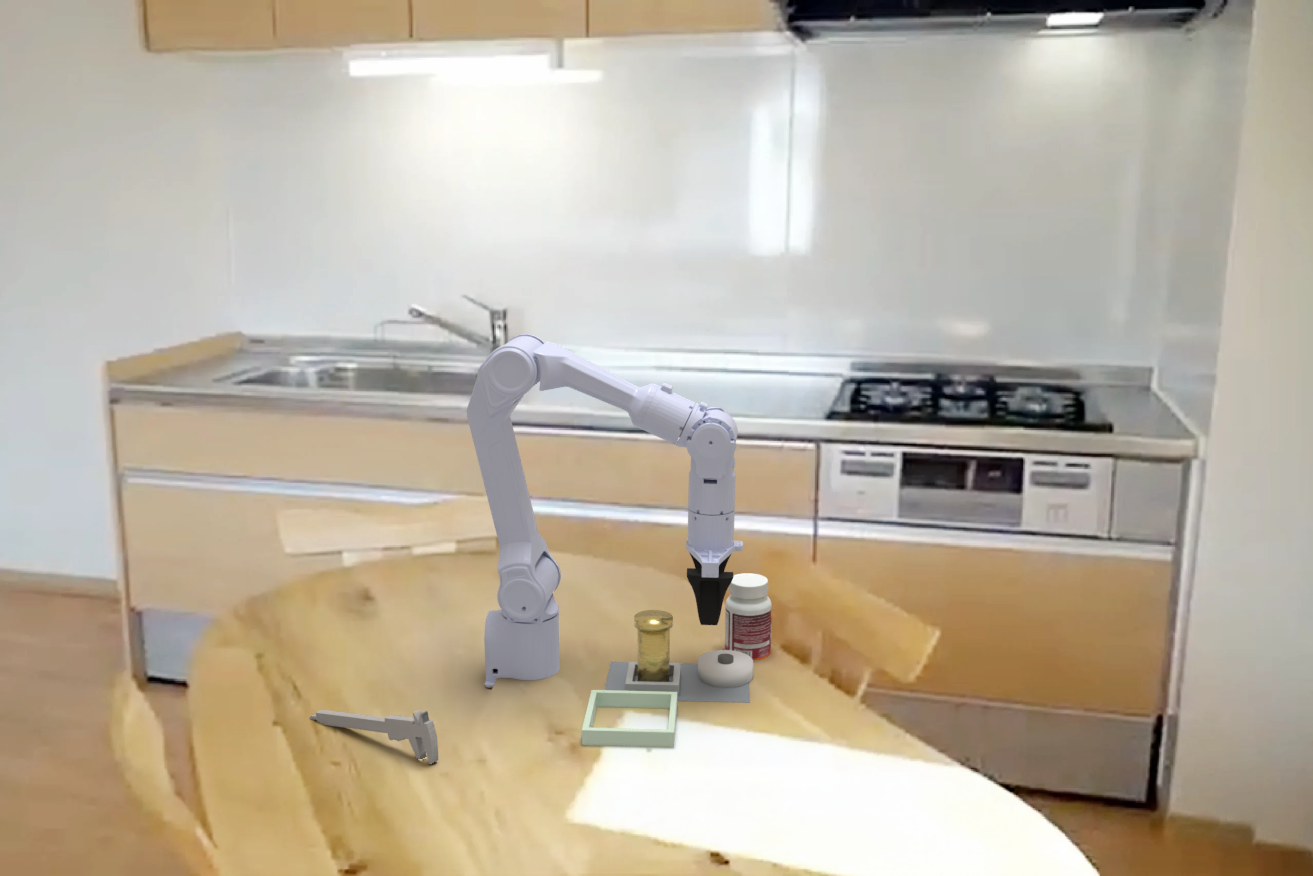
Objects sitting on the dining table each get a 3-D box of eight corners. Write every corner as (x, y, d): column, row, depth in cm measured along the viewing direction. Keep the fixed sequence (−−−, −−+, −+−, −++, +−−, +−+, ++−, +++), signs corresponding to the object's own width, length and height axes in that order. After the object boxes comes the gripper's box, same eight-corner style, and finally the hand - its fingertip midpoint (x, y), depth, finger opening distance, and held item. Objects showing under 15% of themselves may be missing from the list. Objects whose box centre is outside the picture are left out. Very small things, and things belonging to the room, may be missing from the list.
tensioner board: (602, 708, 151) (602, 679, 150) (610, 670, 161) (610, 643, 160) (754, 711, 150) (754, 682, 149) (752, 673, 160) (752, 646, 159)
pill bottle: (780, 661, 164) (782, 581, 161) (743, 672, 161) (744, 591, 158) (751, 646, 169) (753, 568, 166) (715, 656, 166) (716, 577, 163)
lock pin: (633, 692, 152) (632, 624, 150) (635, 675, 157) (635, 609, 155) (671, 693, 152) (672, 625, 150) (673, 676, 157) (673, 610, 154)
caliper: (439, 764, 138) (436, 713, 136) (432, 768, 137) (430, 716, 135) (316, 717, 149) (312, 669, 147) (309, 720, 148) (305, 672, 146)
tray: (582, 754, 139) (581, 730, 139) (591, 712, 149) (591, 689, 149) (673, 756, 139) (673, 732, 138) (677, 714, 149) (677, 691, 148)
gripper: (745, 527, 144) (742, 636, 147) (742, 492, 158) (740, 592, 161) (684, 526, 144) (683, 634, 147) (687, 491, 158) (686, 590, 161)
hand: (709, 612), depth 154 cm, fingers open, 7 cm apart
